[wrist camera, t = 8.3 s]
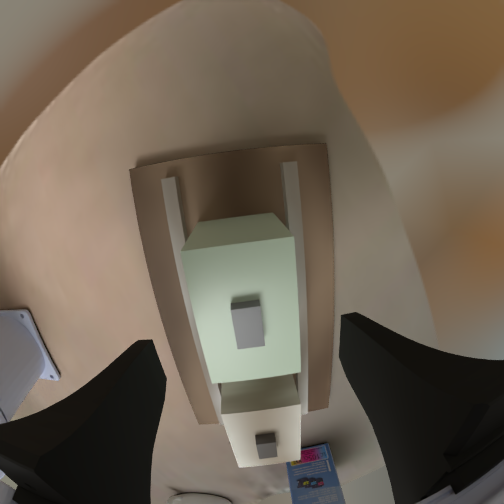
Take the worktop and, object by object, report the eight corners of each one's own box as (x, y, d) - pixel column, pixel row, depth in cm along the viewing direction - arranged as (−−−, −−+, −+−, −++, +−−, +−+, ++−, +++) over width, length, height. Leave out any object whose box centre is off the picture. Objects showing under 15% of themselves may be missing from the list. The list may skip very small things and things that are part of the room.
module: (216, 323, 19) (211, 391, 12) (197, 222, 17) (177, 256, 10) (282, 314, 19) (303, 379, 12) (272, 212, 17) (297, 240, 10)
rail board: (199, 416, 23) (194, 484, 15) (134, 169, 16) (70, 173, 9) (325, 400, 23) (349, 464, 16) (321, 144, 17) (381, 132, 9)
